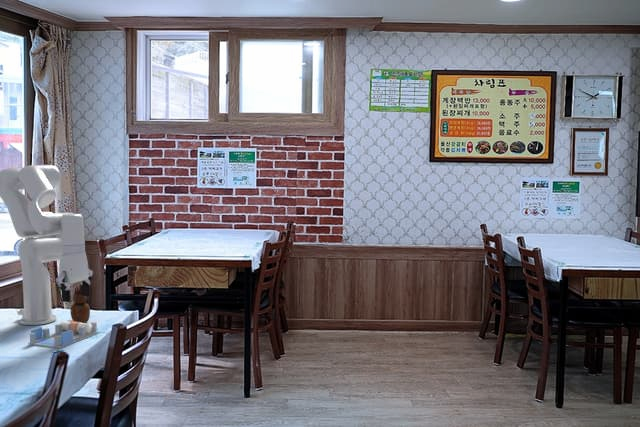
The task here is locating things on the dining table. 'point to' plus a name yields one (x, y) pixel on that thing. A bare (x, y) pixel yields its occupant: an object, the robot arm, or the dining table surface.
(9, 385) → the dining table surface
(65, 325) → the white rounded bar
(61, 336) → the blue and grey tray
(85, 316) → the wooden figurine
